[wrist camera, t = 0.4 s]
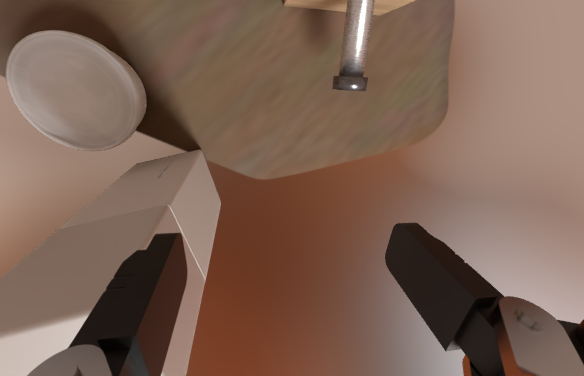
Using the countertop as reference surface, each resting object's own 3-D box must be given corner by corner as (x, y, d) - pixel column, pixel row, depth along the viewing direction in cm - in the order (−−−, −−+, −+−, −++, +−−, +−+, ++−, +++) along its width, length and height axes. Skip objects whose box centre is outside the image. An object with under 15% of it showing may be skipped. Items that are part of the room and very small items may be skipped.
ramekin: (62, 137, 30) (27, 149, 25) (30, 30, 25) (-20, 20, 20) (161, 141, 32) (146, 153, 27) (148, 43, 27) (127, 37, 23)
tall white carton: (201, 148, 33) (106, 307, 11) (221, 203, 37) (182, 402, 15) (135, 163, 32) (-110, 363, 10) (163, 217, 36) (30, 446, 14)
